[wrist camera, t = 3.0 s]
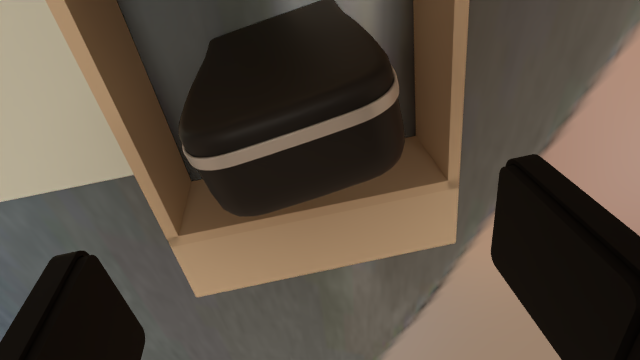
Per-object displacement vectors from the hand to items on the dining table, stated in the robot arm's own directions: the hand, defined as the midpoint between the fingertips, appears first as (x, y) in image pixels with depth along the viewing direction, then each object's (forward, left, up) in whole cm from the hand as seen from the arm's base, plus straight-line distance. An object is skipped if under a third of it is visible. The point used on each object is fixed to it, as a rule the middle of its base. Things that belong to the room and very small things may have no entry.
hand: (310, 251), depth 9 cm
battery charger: (0, -1, -14) cm, 14 cm away
